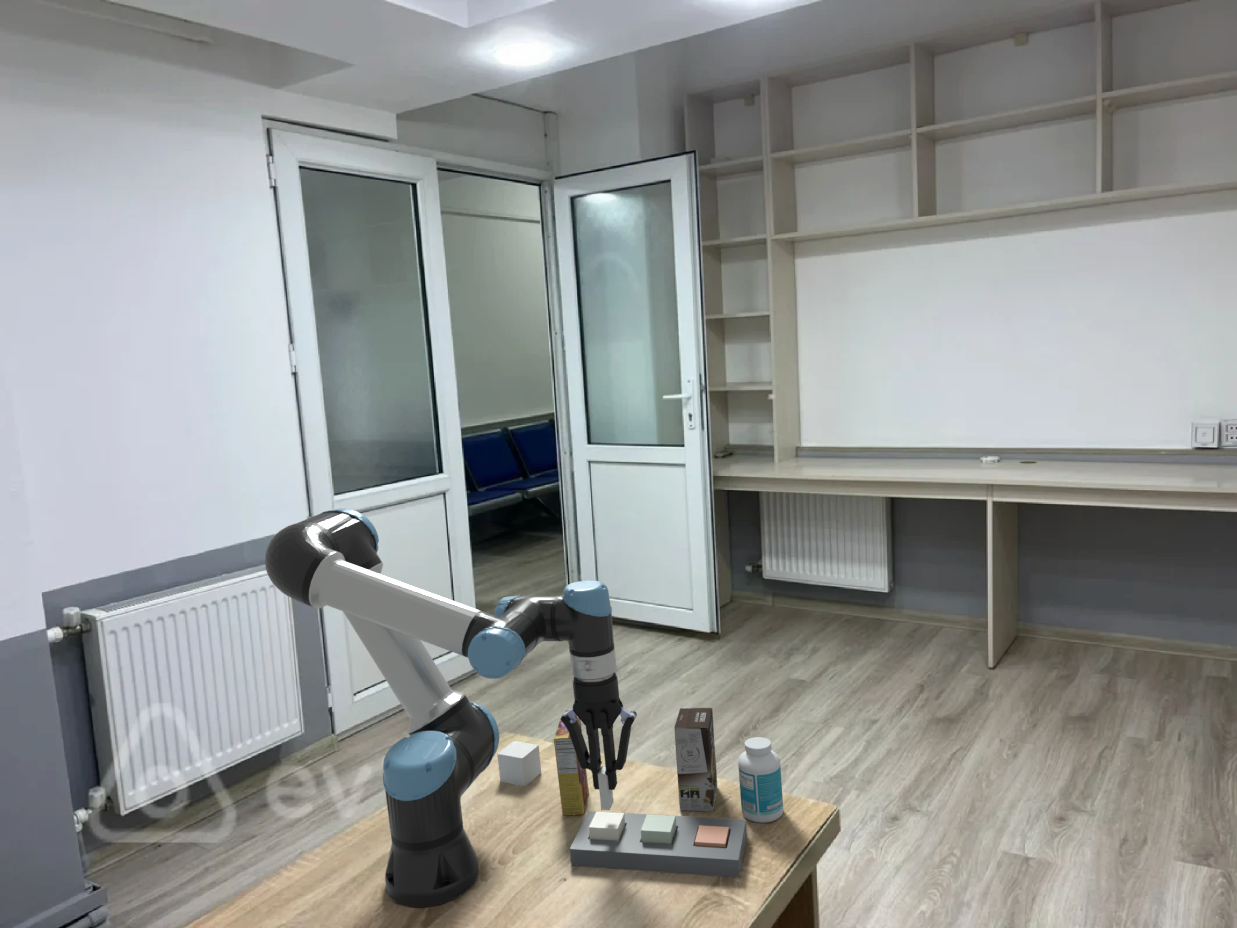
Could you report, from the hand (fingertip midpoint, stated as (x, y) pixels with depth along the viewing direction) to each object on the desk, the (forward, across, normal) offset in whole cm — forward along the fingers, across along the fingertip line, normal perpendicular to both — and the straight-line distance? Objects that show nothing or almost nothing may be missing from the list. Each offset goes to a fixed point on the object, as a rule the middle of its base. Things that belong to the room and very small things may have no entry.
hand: (607, 805), depth 156 cm
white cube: (+8, -24, +22) cm, 34 cm away
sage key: (+6, +9, 0) cm, 11 cm away
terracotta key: (+8, +18, 0) cm, 19 cm away
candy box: (+8, -10, +14) cm, 19 cm away
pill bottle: (+8, +24, +14) cm, 29 cm away
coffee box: (+8, +12, +18) cm, 23 cm away
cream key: (+6, 0, 0) cm, 6 cm away
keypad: (+8, +9, 0) cm, 12 cm away
